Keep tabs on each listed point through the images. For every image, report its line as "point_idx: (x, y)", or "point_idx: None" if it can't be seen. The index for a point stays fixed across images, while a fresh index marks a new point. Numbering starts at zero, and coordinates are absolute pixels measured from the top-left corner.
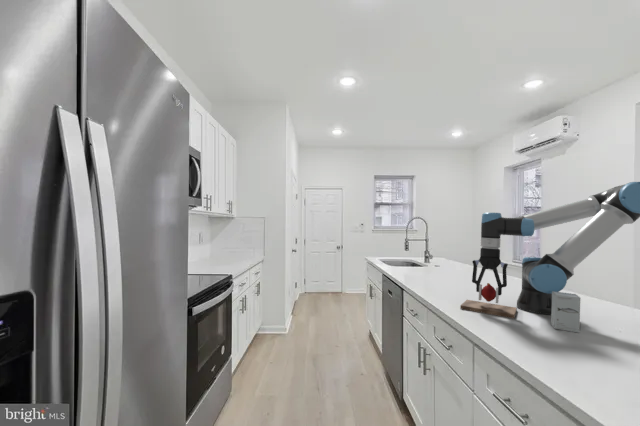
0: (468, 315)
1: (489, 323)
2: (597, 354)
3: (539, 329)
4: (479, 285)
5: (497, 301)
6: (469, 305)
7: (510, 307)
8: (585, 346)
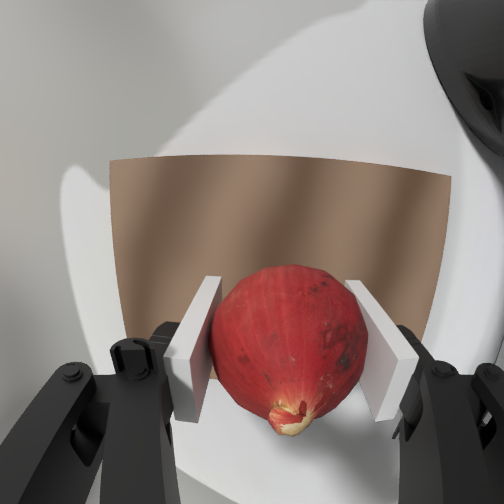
0: (209, 434)
1: (294, 468)
2: None
3: None
4: (180, 419)
5: None
6: None
7: (421, 198)
8: None
